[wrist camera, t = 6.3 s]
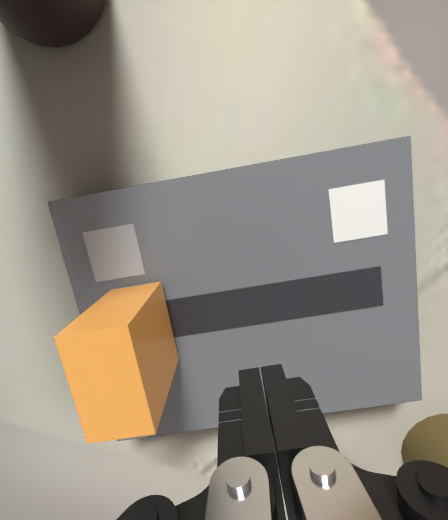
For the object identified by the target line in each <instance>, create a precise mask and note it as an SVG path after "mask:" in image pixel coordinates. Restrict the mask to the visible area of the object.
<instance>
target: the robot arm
mask: <svg viewBox="0 0 448 520" xmlns="http://www.w3.org/2000/svg"><path fill="white" fill-rule="evenodd" d="M238 373H239V386H234V387H228V388H225V389H224V391H223V393H222V395H221V396H220V398H219V420H218V421H219V424H218V461H217V469H216V470H215V471H214V473H213V474H212V477H211V479H210V484H209V486H208V487H207V488H206V489H205V490H204V491H203V492H201V493H200V494H198V495H197V496H195V497H194V498H191V499H189V500H187V501H185V502H183V503H181V504H179V505H177V506H175V505H174V504H173V502H172V501H171V500H170V499H169V498H167V497H165V496H161V495H150V496H146V497H144V498H141V499H139V500H138V501H136V502H135V503H133V504H132V505H131V506H129V507H128V508H127V509H126V510H125V511H124V512H123V513H122V514H121V515H120V517H119V518H118V519H117V520H286V517H285V511H284V504H283V498H282V491H281V485H280V479H281V484H282V489H283V494H284V500H285V504H286V509H287V515H288V519H289V520H448V467H445V466H443V465H441V464H438V463H435V462H431V461H426V460H415V461H410V462H407V463H405V464H404V465H402V466H401V467H400V468H399V470H398V472H397V476H391V475H385V474H379V473H373V472H369V471H366V470H363V469H361V468H358V467H356V466H355V465H353V464H352V463H350V462H349V460H348V459H347V458H346V457H345V456H344V455H343V454H342V453H340V452H339V450H338V448H337V446H336V443H335V441H334V439H333V437H332V434H331V432H330V430H329V427H328V425H327V423H326V421H325V418H324V416H323V414H322V411H321V409H320V407H319V404H318V402H317V400H316V398H315V395H314V393H313V391H312V388H311V386H310V385H309V384H308V383H307V382H306V381H304V380H303V379H302V378H301V377H294V378H287V379H286V376H285V373H284V370H283V367H282V365H281V364H276V365H270V366H263V367H261V373H262V380H263V386H264V391H263V386H262V381H261V376H260V371H259V367H257V368H250V369H244V370H238ZM264 392H265V396H264ZM265 399H266V402H265ZM266 405H267V407H266ZM267 411H268V412H267ZM276 458H277V460H276ZM277 464H278V466H277ZM278 469H279V472H278ZM279 474H280V479H279Z"/></svg>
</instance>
